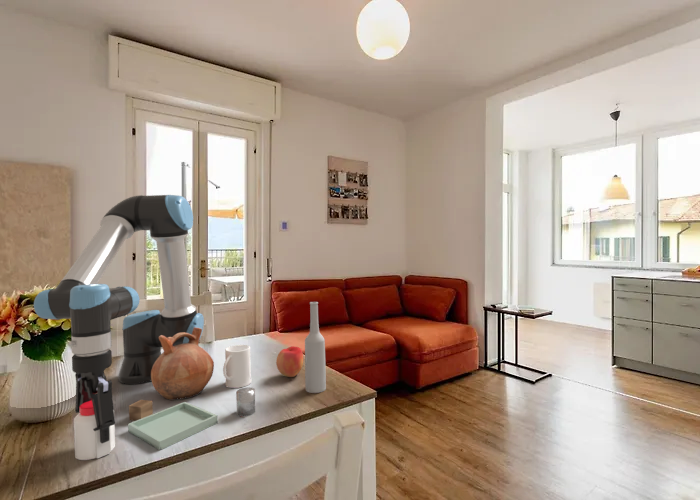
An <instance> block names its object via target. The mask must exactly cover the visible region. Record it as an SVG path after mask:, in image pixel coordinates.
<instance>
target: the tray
mask: <svg viewBox="0 0 700 500" xmlns="http://www.w3.org/2000/svg"><path fill="white" fill-rule="evenodd" d="M218 422H219V421H218V415H217V414H216V413H213V412H211V411H208V410H205V409H204V408H201V407H199V406H196V405H194V404H192V403H188V402H186V401H183V402H181V403H177V404H176V405H173V406H171V407H168V408H165V409H162V410H160V411H158V412H155V413H153V414H152V415H149V416H147V417H144V418H142V419H139V420H137V421H132V422H130V423H127V424H128V425H127V429H128V433H130V434H132V435H133V436H135V437H137V438H139V439H140V440H141V441H144V442H145V443H147V444H148V445H150V446H152V447H153V448H155V449H157V450H158V451H162V450H163V449H166V448H168V447H171V446H172V445H174V444H176V443H179V442H180V441H182V440H184V439H187V438H189V437H191V436H193V435H195V434H197V433H199V432H200V433H201V431H203V430H206V429H208V428H210V427H212V426H215V425H216V424H218Z"/></svg>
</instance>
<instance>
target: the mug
mask: <svg viewBox="0 0 700 500" xmlns="http://www.w3.org/2000/svg"><path fill="white" fill-rule="evenodd" d="M224 350H225V352H224V354H225V355H224V357H225V361H224V364H223V368H222V371H223V376H224V378H225V386H226V387H227V388H230V389H239V388H240V389H241V388H246V387H248V386H249V385H251V384H252V382H253V381H252V380H253V379H252V375H251V374H252V373H251V372H252V371H251V369H252V367H251V366H252V365H251V346H249V345H247V344H238V345H237V344H236V345H235V344H234V345H230V346H228V347H225V349H224Z"/></svg>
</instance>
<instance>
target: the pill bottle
mask: <svg viewBox="0 0 700 500" xmlns="http://www.w3.org/2000/svg"><path fill="white" fill-rule="evenodd" d="M79 410H80V413H77V415H76V416H75V417H74V418H73V436H74V437H73V439H74V457H75V459H76V460H79V461H88V460H89V461H90V460H93V459H97V458H96V444H95V431H94V430H93V429H94V428H97V424H96V419H95V414H94V409H93V404H92V400H91V401H88V402H85V403H83V404H81V405H80V407H79ZM110 444H111V451H113V450H114V449H115V447H116V425H115V424H114V425H112V426H110Z"/></svg>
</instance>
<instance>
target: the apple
mask: <svg viewBox="0 0 700 500" xmlns="http://www.w3.org/2000/svg"><path fill="white" fill-rule="evenodd" d="M304 361H305V358H304V353H303V351H302V349H301V347H298V346H289V347H287V348H282V349H281V350H280V351H279V352H278V354H277V356H276V362H275V363H276V368H277V370H278V372H279V373H280V374H281V375H283V376H284V377H287V378H294V377H296V376H297V375H298V374H299V373H300V372H301V370H302V368H303V365H304Z"/></svg>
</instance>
